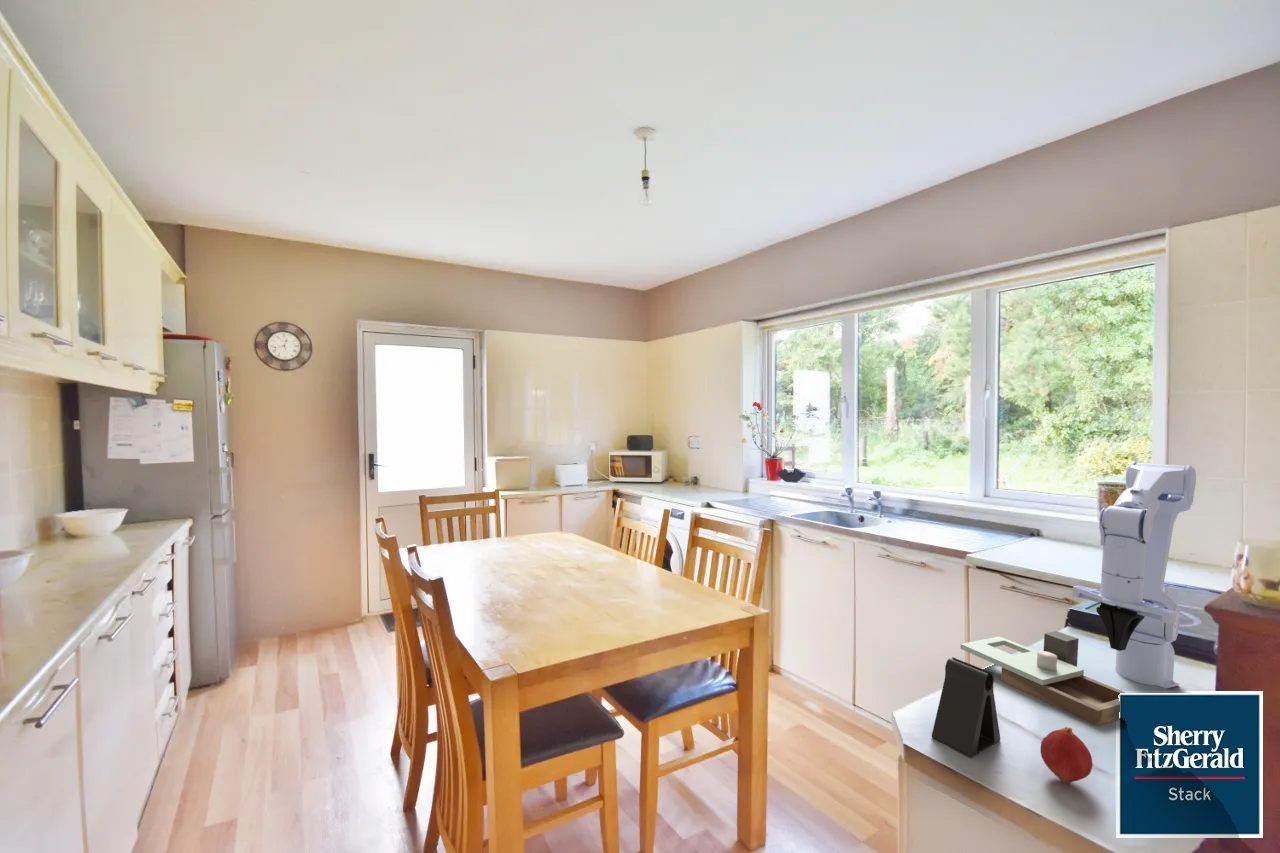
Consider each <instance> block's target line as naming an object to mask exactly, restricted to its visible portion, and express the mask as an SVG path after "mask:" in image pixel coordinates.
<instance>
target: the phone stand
mask: <svg viewBox="0 0 1280 853" xmlns="http://www.w3.org/2000/svg"><path fill="white" fill-rule="evenodd" d="M944 670H945V671H944V681H943V686H942V689H941V693H940V699H939V701H938V702H939V703H938V707H937V711H936V714H935V720H934V725H933V727H932V728H933V729H932V732H931V738H933V739H934V738H935V740H936V739H937V741H938V742H940V743H942V744H944V745H946V746H948V747H949V748H951V749H953V750H955V751H957V752H959V753H960V754H963V755H964V756H967V757H968V758H970V759H973V758H974V757H976V756H977V755H979V754H981V753H983V752H984V751H986V750H987V748H988V749H989V748H991V747H993V746H995V745H996V744H998V743H999V742H1001V735H1000V734H1001V733H1000V727H999V720H998V714H997V706H996V699H995V694H994V685H995V684H994V683H995V676H994V673H993V672H992V671H988V670H986V669H984V668H981V667H979V666H975V665H973V664H970V663H968V662H965V661H963V660H960V659H958V658H956V657H954V656H953V657H951V658H948V659H947V661H946V662H945V666H944ZM994 744H995V745H994ZM992 745H993V746H992ZM982 751H983V752H982ZM980 752H981V753H980Z"/></svg>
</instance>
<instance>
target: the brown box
mask: <svg viewBox="0 0 1280 853" xmlns="http://www.w3.org/2000/svg"><path fill="white" fill-rule="evenodd" d="M1000 681H1001V682H1003V683H1004V684H1007V685H1009V686H1010V687H1013V688H1015V689H1017V690H1019V691H1022V692H1024V693H1026V694H1028V695H1031V696H1033V697H1034V698H1036V699H1039V700H1041V701H1043V702H1045V703H1048V704H1050V705H1051V706H1054V707H1056V708H1058V709H1060V710H1062V711H1065V712H1066V713H1067V714H1068V713H1069V714H1070V715H1072V716H1074V717H1076V718H1079V719H1081V720H1083V721H1085V722H1088V723H1089V724H1091V725H1094V726H1096V727H1098V726H1102V725H1105V724H1108V723H1112V722H1114V721H1115V722H1116V721H1117V720H1120V719H1119V712H1120V701H1119V698H1118V695H1119V694H1120V693H1126V692H1125V691H1124V690H1123V691H1122V690H1121V689H1118V688H1115V687H1112V686H1111V685H1107V684H1105V683H1102V682H1100V681H1098V680H1095V679H1094V678H1090V677H1088V676H1086V675H1082V676H1078V677H1074V678H1070V679H1066V680H1062V681H1058V682H1054V683H1050V684H1047V685H1040V684H1038V683H1036V682H1034V681H1031V680H1029V679H1027V678H1025V677H1022V676H1020V675H1018V674H1016V673H1014V672H1011V671H1009V670H1007V669H1005V668H1002V667H1001V679H1000Z"/></svg>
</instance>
